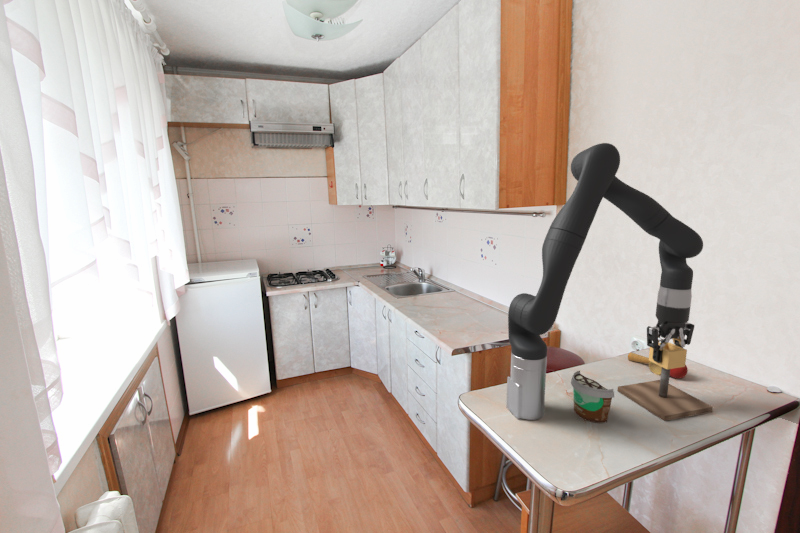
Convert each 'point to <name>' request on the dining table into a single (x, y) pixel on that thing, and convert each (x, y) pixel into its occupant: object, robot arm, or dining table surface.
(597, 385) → the food container
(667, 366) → the tan hollow square block
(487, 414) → the dining table surface
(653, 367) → the kendama
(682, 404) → the needle stand
